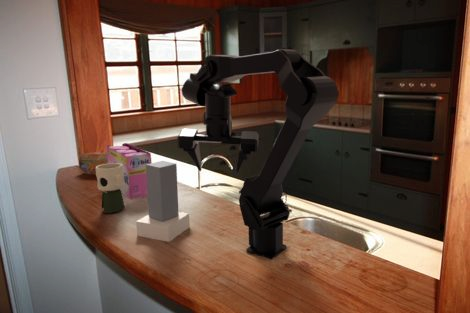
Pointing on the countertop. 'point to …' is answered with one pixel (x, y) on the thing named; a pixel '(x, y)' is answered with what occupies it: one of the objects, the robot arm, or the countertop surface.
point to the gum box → (131, 168)
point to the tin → (92, 162)
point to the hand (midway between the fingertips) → (218, 171)
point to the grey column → (162, 190)
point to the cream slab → (162, 227)
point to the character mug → (111, 186)
